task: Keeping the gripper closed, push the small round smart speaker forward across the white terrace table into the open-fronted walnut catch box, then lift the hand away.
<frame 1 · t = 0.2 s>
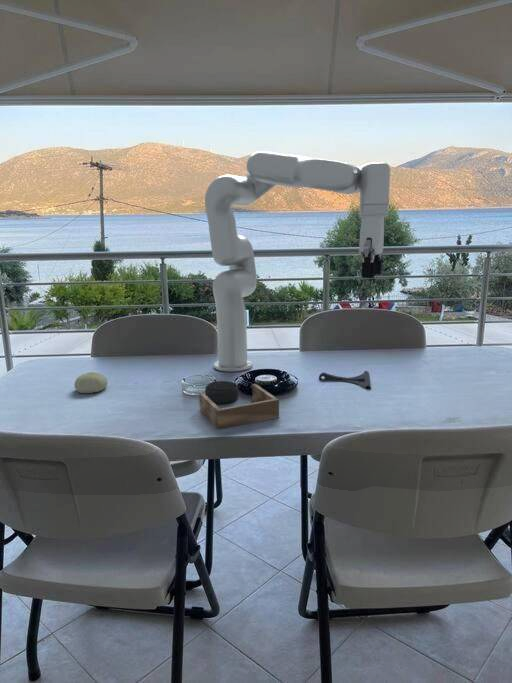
hand: (371, 275, 134), 31 cm above the table, tool pointing down, fingers open, 9 cm apart
catch box: (238, 413, 120), on the table
smart speaker: (222, 400, 130), on the table
sea urchin shell: (91, 390, 140), on the table
bracket: (344, 382, 144), on the table
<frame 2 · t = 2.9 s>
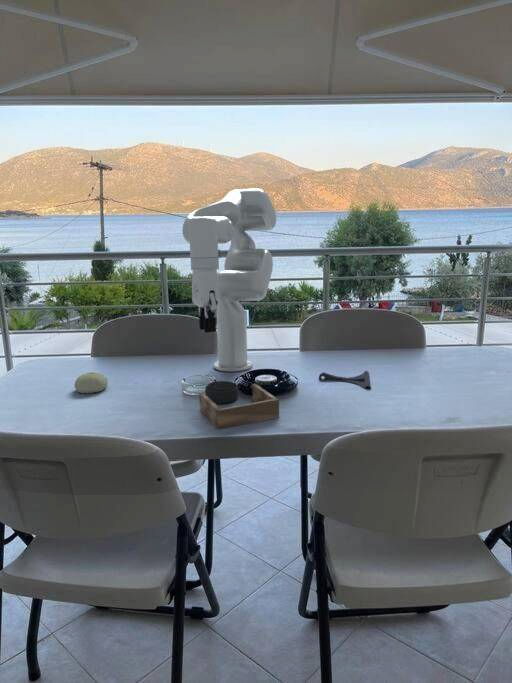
hand: (207, 329, 135), 17 cm above the table, tool pointing down, fingers open, 3 cm apart
nothing on the table moved.
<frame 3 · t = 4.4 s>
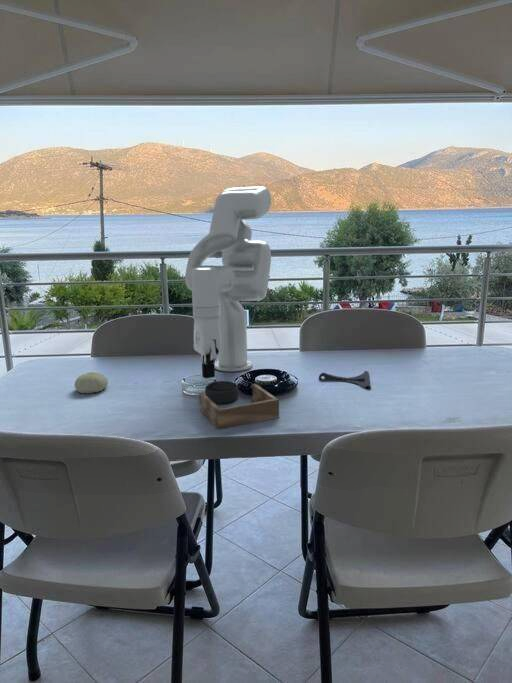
hand: (208, 376, 137), 4 cm above the table, tool pointing down, fingers closed
nothing on the table moved.
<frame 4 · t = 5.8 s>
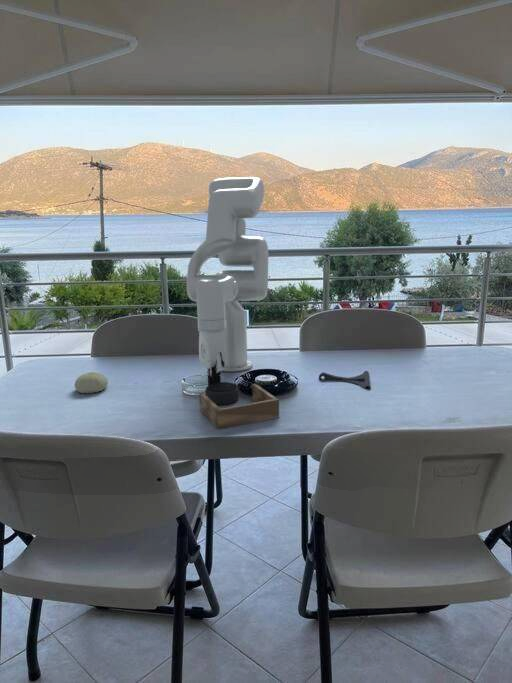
hand: (214, 388, 135), 1 cm above the table, tool pointing down, fingers closed
smart speaker: (222, 401, 130), on the table, touching gripper
everything else where it was.
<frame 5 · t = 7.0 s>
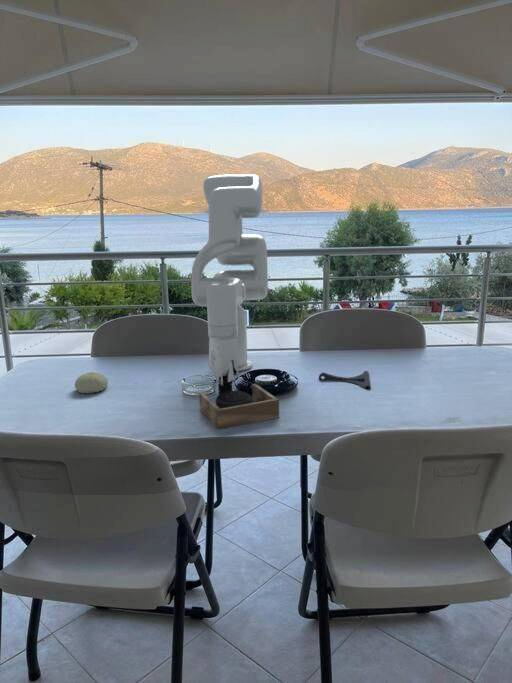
hand: (225, 398, 128), 1 cm above the table, tool pointing down, fingers closed
smart speaker: (234, 411, 122), resting in catch box, touching gripper
everything else where it was.
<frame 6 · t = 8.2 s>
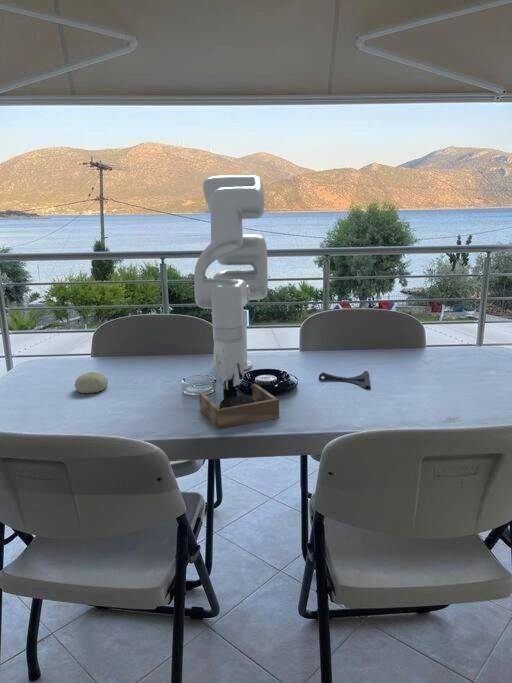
hand: (230, 402, 124), 1 cm above the table, tool pointing down, fingers closed
smart speaker: (238, 417, 119), resting in catch box
everything else where it was.
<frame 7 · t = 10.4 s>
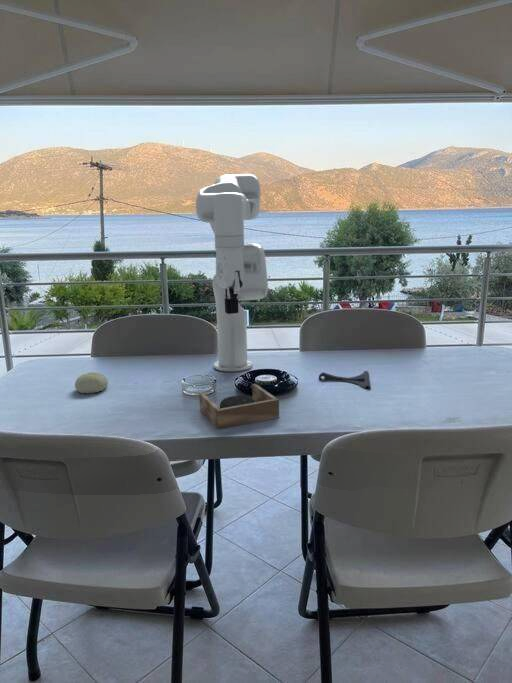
hand: (231, 312, 129), 23 cm above the table, tool pointing down, fingers closed
nothing on the table moved.
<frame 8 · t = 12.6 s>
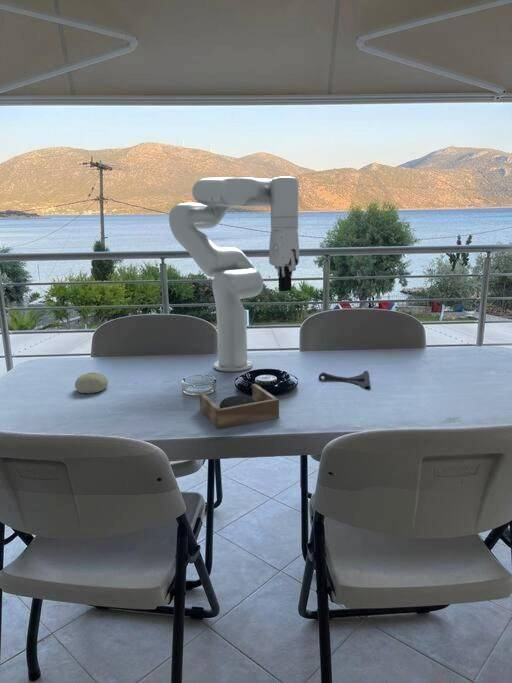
hand: (285, 290, 137), 27 cm above the table, tool pointing down, fingers closed
nothing on the table moved.
at the end: smart speaker inside the target area on the catch box (1.0 cm from its centre), point 0.0 cm above the catch box's base; smart speaker moved 13.0 cm from its start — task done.
